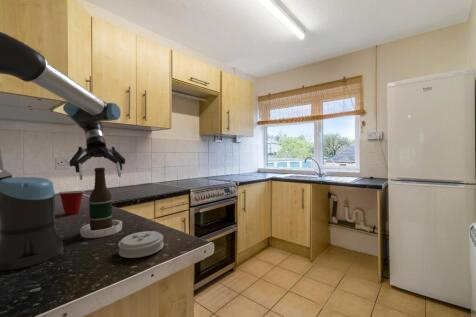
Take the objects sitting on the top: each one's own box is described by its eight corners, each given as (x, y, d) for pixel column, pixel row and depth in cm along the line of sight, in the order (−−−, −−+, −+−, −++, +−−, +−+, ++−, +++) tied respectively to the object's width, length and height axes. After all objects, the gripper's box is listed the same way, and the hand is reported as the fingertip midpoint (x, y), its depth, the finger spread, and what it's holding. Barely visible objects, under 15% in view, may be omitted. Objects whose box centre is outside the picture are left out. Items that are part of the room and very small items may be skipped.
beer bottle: (116, 228, 87) (114, 167, 86) (93, 233, 81) (90, 168, 81) (109, 224, 92) (107, 166, 92) (87, 229, 86) (85, 168, 86)
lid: (130, 265, 59) (129, 247, 59) (111, 253, 67) (111, 236, 67) (171, 249, 69) (171, 233, 69) (150, 240, 77) (150, 225, 77)
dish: (106, 238, 79) (106, 231, 79) (71, 237, 80) (71, 231, 80) (129, 226, 92) (128, 220, 92) (98, 225, 93) (98, 219, 93)
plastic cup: (90, 211, 120) (89, 189, 120) (73, 216, 109) (72, 192, 109) (71, 210, 121) (71, 189, 121) (53, 216, 110) (52, 192, 110)
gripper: (124, 147, 112) (132, 179, 100) (61, 147, 96) (62, 185, 85) (126, 136, 108) (135, 168, 96) (61, 134, 92) (62, 172, 81)
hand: (101, 176), depth 90 cm, fingers open, 13 cm apart
